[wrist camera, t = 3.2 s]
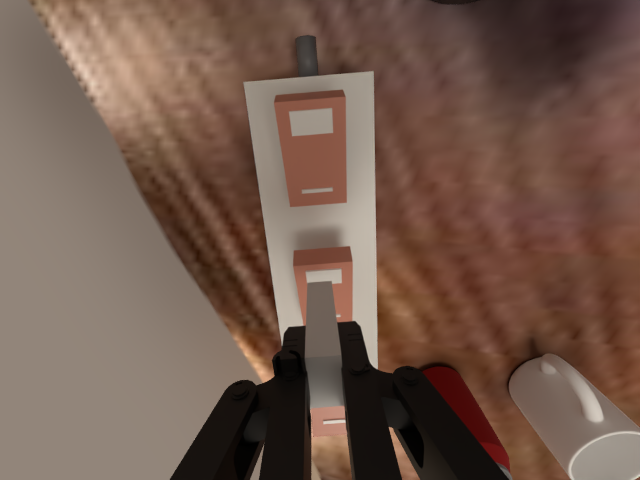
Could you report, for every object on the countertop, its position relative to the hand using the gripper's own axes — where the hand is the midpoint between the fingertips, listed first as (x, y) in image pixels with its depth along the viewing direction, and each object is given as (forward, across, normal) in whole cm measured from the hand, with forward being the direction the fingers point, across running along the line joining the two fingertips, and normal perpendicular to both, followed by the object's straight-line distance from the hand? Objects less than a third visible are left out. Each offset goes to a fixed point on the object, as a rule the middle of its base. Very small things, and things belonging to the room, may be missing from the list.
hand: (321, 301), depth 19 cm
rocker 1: (+7, 0, +8) cm, 11 cm away
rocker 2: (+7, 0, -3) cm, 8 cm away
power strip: (+14, 0, -1) cm, 14 cm away
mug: (+14, +26, -20) cm, 36 cm away
